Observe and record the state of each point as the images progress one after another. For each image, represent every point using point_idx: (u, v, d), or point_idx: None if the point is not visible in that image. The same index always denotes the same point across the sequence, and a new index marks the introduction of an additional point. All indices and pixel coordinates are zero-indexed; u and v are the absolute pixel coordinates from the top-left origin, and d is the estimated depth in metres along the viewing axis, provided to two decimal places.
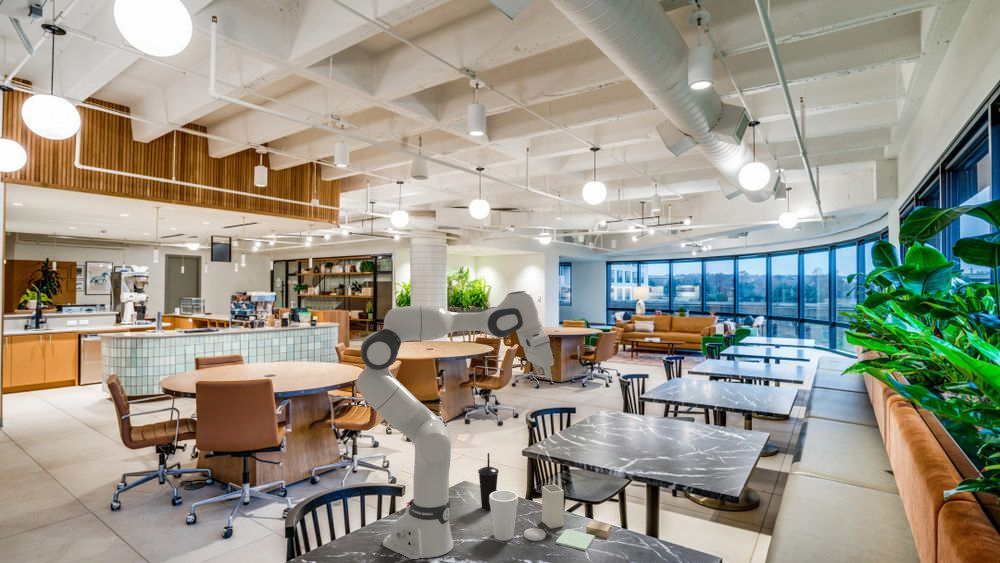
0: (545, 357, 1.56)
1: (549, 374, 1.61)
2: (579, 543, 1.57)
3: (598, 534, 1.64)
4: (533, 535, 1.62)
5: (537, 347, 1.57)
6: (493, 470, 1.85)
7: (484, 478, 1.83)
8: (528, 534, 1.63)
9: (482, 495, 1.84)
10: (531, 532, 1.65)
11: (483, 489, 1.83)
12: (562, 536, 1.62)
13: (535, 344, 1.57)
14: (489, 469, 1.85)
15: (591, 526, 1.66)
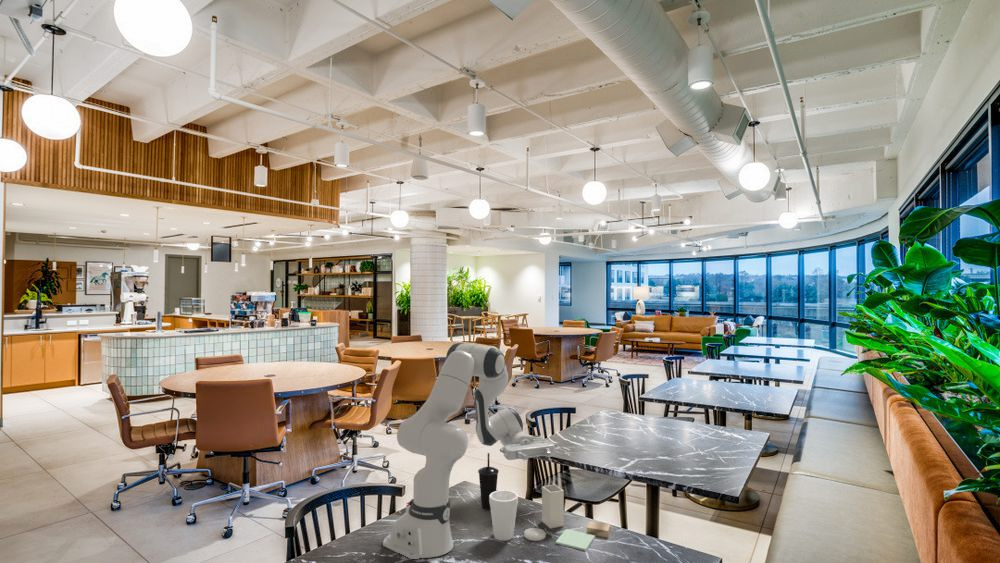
0: None
1: None
2: (579, 543, 1.57)
3: (599, 534, 1.64)
4: (533, 535, 1.62)
5: None
6: (493, 470, 1.85)
7: (484, 478, 1.83)
8: (528, 534, 1.63)
9: (482, 495, 1.84)
10: (531, 532, 1.65)
11: (483, 489, 1.83)
12: (562, 536, 1.62)
13: None
14: (489, 469, 1.85)
15: (591, 526, 1.66)
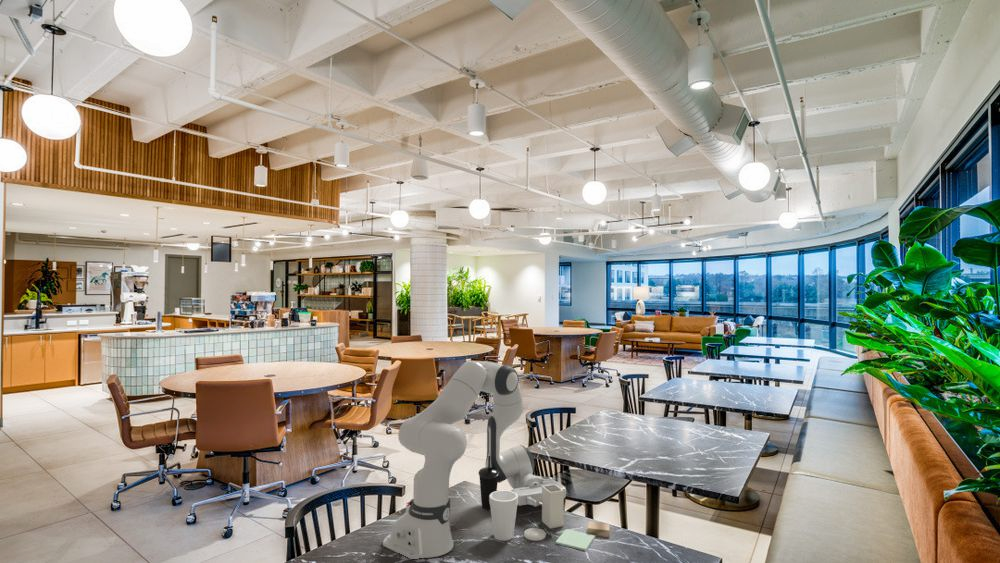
0: None
1: None
2: (579, 543, 1.57)
3: (600, 534, 1.64)
4: (533, 535, 1.62)
5: None
6: (494, 473, 1.82)
7: (485, 481, 1.81)
8: (528, 534, 1.63)
9: (482, 496, 1.83)
10: (531, 532, 1.65)
11: (483, 490, 1.82)
12: (562, 536, 1.62)
13: (553, 481, 1.90)
14: (490, 472, 1.82)
15: (592, 527, 1.65)
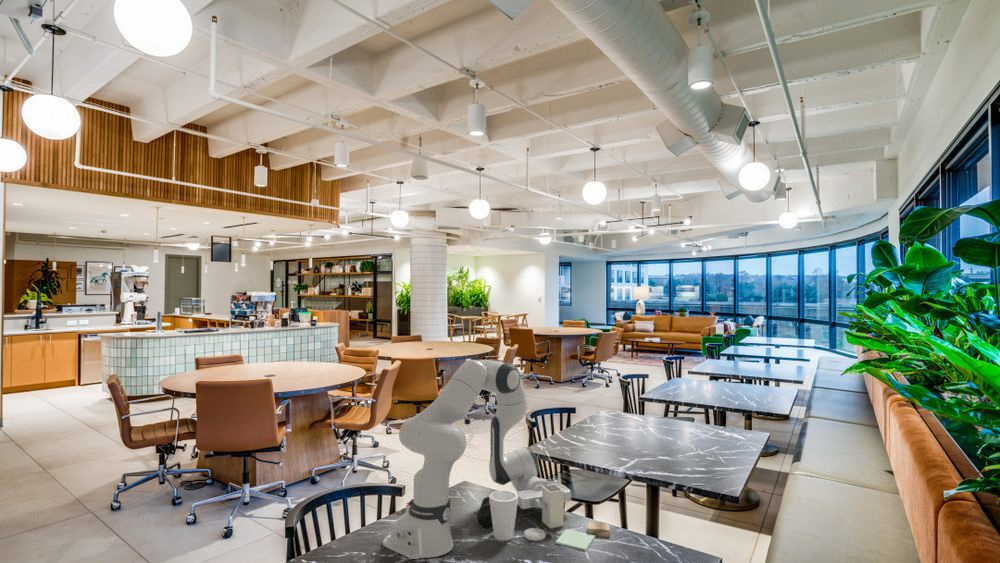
0: None
1: None
2: (579, 543, 1.57)
3: (600, 534, 1.64)
4: (533, 535, 1.62)
5: None
6: None
7: None
8: (528, 534, 1.63)
9: None
10: (531, 532, 1.65)
11: None
12: (562, 536, 1.62)
13: None
14: (489, 522, 1.69)
15: (592, 527, 1.65)
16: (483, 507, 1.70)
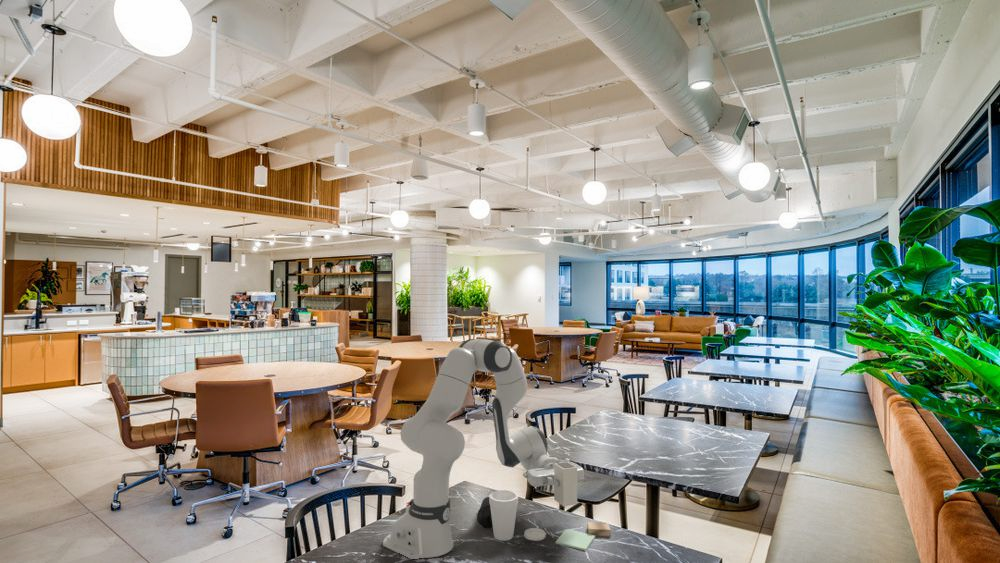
0: None
1: None
2: (579, 543, 1.57)
3: (601, 534, 1.64)
4: (533, 535, 1.62)
5: None
6: None
7: None
8: (528, 534, 1.63)
9: None
10: (531, 532, 1.65)
11: None
12: (562, 536, 1.62)
13: None
14: (489, 522, 1.69)
15: (593, 527, 1.65)
16: (483, 507, 1.70)
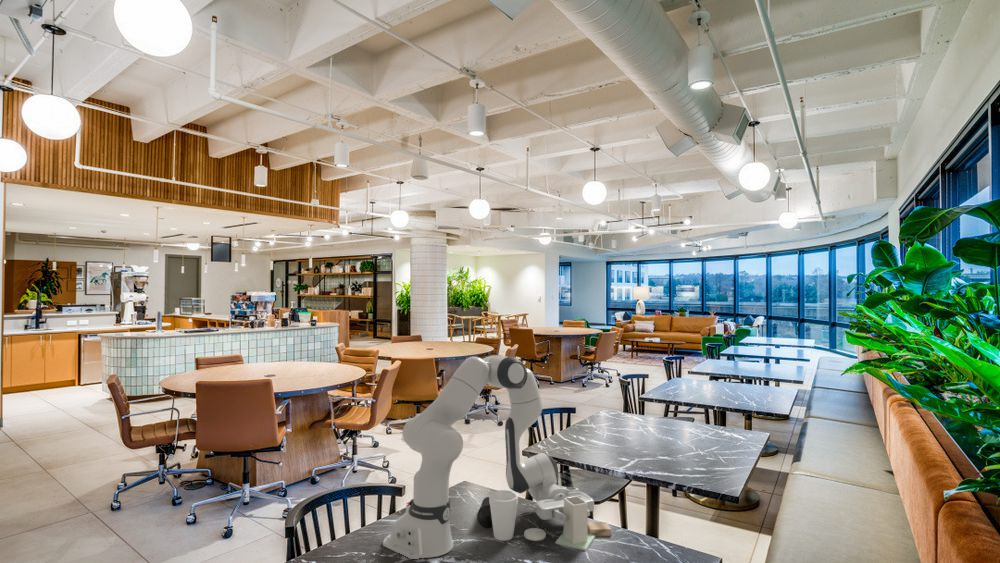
0: None
1: None
2: (579, 543, 1.57)
3: (602, 534, 1.64)
4: (533, 535, 1.62)
5: None
6: None
7: None
8: (528, 534, 1.63)
9: None
10: (531, 532, 1.65)
11: None
12: (562, 536, 1.62)
13: None
14: (489, 522, 1.69)
15: (593, 528, 1.65)
16: (483, 507, 1.70)
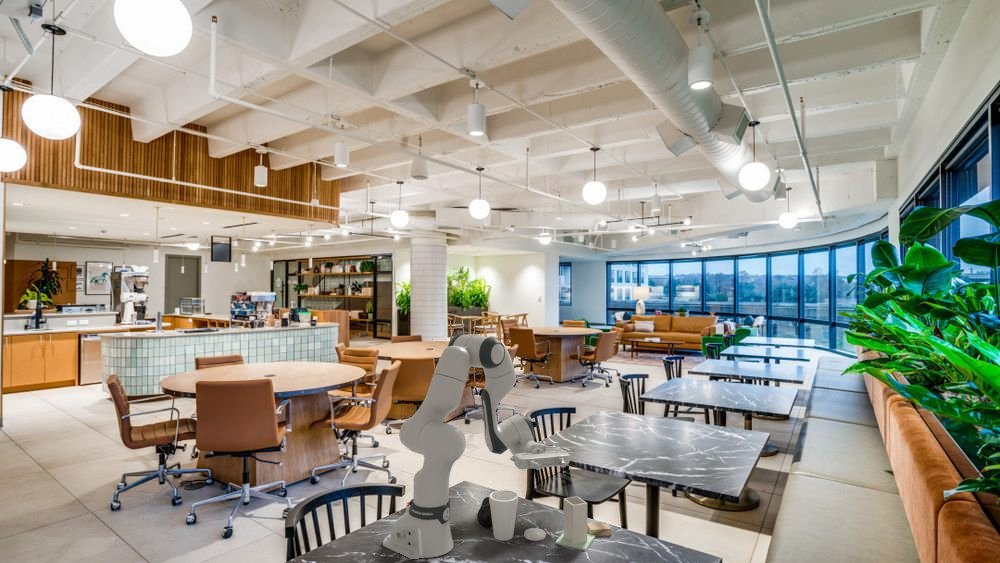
0: None
1: None
2: (579, 543, 1.57)
3: (602, 534, 1.64)
4: (533, 535, 1.62)
5: None
6: None
7: None
8: (528, 534, 1.63)
9: None
10: (532, 532, 1.65)
11: None
12: (562, 536, 1.62)
13: None
14: (489, 522, 1.69)
15: (594, 528, 1.65)
16: (483, 507, 1.70)
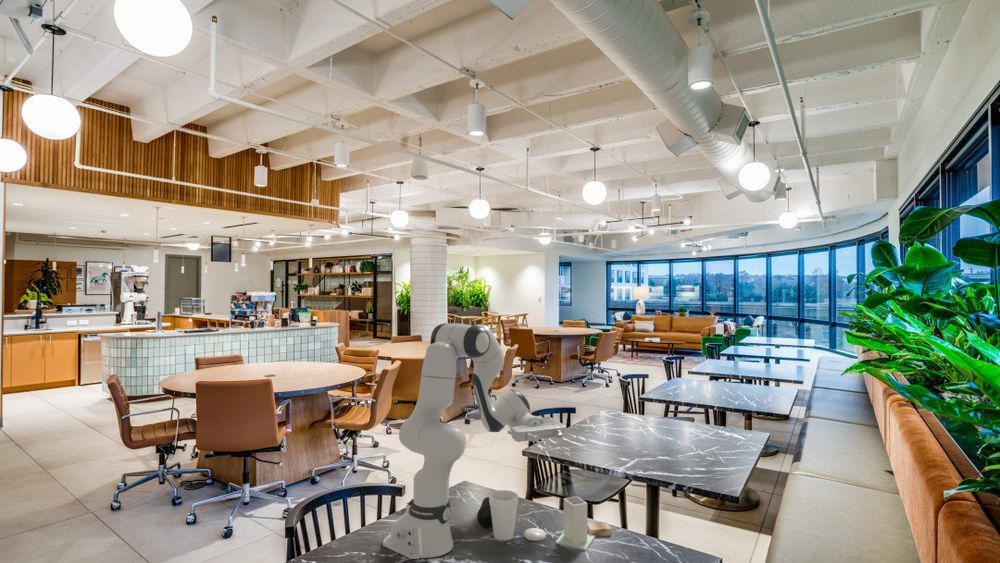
0: None
1: None
2: (579, 543, 1.57)
3: (602, 534, 1.64)
4: (533, 535, 1.62)
5: None
6: None
7: None
8: (528, 534, 1.63)
9: None
10: (532, 532, 1.65)
11: None
12: (562, 536, 1.62)
13: None
14: (489, 522, 1.69)
15: (594, 528, 1.65)
16: (483, 507, 1.70)
